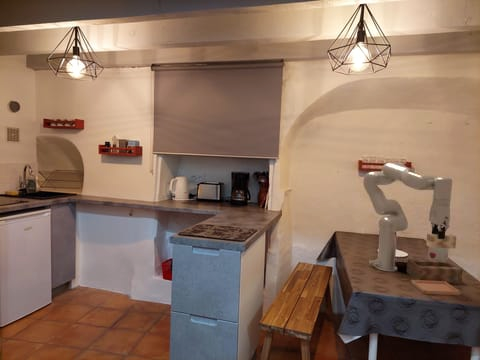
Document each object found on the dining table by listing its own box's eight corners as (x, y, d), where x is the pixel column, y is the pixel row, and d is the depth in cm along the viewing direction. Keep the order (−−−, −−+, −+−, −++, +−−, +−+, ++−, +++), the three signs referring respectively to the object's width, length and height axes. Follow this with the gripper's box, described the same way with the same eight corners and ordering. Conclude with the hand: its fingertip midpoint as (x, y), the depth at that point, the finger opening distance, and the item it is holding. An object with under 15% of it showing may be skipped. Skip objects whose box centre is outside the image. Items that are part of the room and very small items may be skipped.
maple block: (431, 247, 161) (432, 235, 161) (426, 244, 166) (427, 233, 165) (455, 248, 161) (456, 236, 161) (449, 245, 166) (450, 234, 165)
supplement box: (426, 267, 197) (428, 243, 196) (430, 264, 204) (432, 241, 202) (443, 271, 191) (445, 247, 190) (447, 268, 197) (449, 244, 196)
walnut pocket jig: (419, 282, 174) (420, 267, 173) (406, 272, 188) (407, 259, 187) (461, 284, 173) (462, 269, 173) (445, 274, 187) (446, 260, 187)
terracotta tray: (424, 293, 159) (424, 290, 159) (410, 283, 172) (410, 279, 172) (460, 295, 159) (461, 291, 159) (444, 284, 172) (444, 281, 172)
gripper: (424, 199, 170) (421, 232, 172) (444, 204, 153) (440, 241, 155) (438, 199, 170) (435, 233, 172) (460, 205, 153) (456, 242, 155)
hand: (437, 237), depth 163 cm, fingers closed on maple block, 4 cm apart
